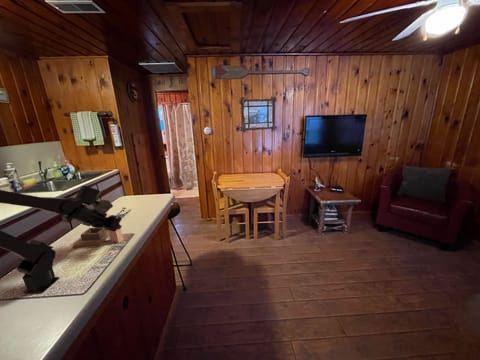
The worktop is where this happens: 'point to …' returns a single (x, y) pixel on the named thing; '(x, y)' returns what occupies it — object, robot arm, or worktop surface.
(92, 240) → the square socket base
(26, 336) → the worktop surface
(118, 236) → the clay rectangular block
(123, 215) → the driftwood
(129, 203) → the worktop surface
